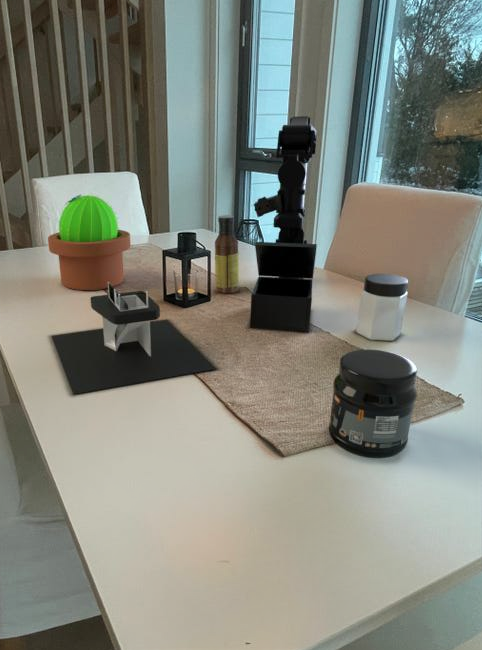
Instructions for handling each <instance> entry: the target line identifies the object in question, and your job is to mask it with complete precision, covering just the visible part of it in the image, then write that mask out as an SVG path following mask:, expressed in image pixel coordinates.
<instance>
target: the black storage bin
mask: <svg viewBox="0 0 482 650" xmlns="http://www.w3.org/2000/svg"><path fill="white" fill-rule="evenodd" d="M313 282H314V278H313V279H309V278H303V279H299V278H281V277H272V276H259V275H258V277H257V280H256V281H255V284H254V287H253V290H252V291H251V295H250V297H251V298H250V314H249V315H250V317H249V328H250V329H255V330H256V329H257V330H269V331H270V330H271V331H282V332H293V333H294V332H295V333H308V334H309V333H310V324H311V323H310V322H311V314H312V304H313V303H312V302H313V285H314V283H313Z"/></svg>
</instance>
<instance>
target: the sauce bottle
mask: <svg viewBox="0 0 482 650" xmlns="http://www.w3.org/2000/svg"><path fill="white" fill-rule="evenodd" d="M217 222H218V235H217V237H216V239H215V241H214V271H215V273H214V275H215V289H216V291H217V292H218V293H220V294H235V293H236V292H238V291H239V285H240V274H239V273H240V267H239V265H240V264H239V258H240V256H239V255H240V251H239V241H238V239H237V237H236V235H235V231H234V223H235V216H234V215H230V214H225V215H223V214H222V215H218V218H217Z"/></svg>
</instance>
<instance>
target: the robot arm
mask: <svg viewBox="0 0 482 650" xmlns="http://www.w3.org/2000/svg"><path fill="white" fill-rule="evenodd" d="M317 139H318V136H317V129H316V128H315V127H314V126H313V124H311V116H310V117H309V115H306V116H304V115H303V116H300V115H299V116H292V117H290V119H289V124H283V125H282V126H281V129H280V130H278V135H277V145H276V155H275V158H276V159H282V162H281V164H280V165H281V166H280V167H279V169H278V172H277V179H278V183H279V189H278V190H277V194H275V195H271V196H269V197H266V196H262V197H259V198H258V199H257V201H255V202H254V203H253V207H254V211H255V213H256V216H257V218H260V217H263V216H264V215H267V214H270V213H272V212H275V213H276V215H275V216H274V217H273V225H272V226H273V228H276V229H277V228H278V229H280V230H279V231H278V236H277V238H276V239H275V241H274V243H299V244H308V240H307V239H305V238H306V234H305V231H304V229H303V226H304V218H305V217H306V207H305V196H306V184H307V172H308V166H309V164H310V163H311V162H312V159H313V155H316V150H317V149H316V148H317ZM281 278H291V277H281ZM299 279H304V278H299Z"/></svg>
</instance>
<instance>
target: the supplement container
mask: <svg viewBox="0 0 482 650" xmlns="http://www.w3.org/2000/svg"><path fill="white" fill-rule="evenodd" d="M338 366H339V367H338V374H337V375H336V376H335V377H334V380H333V383H332V388H333V392H332V402H331V409H330V416H329V417H330V418H329V422H328V433H329V437H330V438H331V440H332V441H333V443H334V444H336V445H337V446H338V447H339V448H341V449H342V450H344V451H345V452H347V453H349V454H352V455H355V456H358V457H361V458H366V459H378V460H379V459H389V458H392V457H395V456H397V455H399V454H400V453H402V452H403V451H404V450H405V449H406V447H407V445H408V443H409V433H410V427H411V422H412V418H413V417H412V416H413V412H414V407H415V402H416V400H417V397H418V396H417V395H418V392H417V389H416V387H415V384H416V380H417V375H418V368H417V366H416V365H415V364H414V362H413V361H411V360H410V359H408V358H406V357H405V356H403V355H400V354H397V353H395V352H391V351H386V350H379V349H369V348H368V349H365V348H364V349H355V350H351V351H348V352H346V353H344V354H343V355H342V356H341V357H340V359H339V365H338Z"/></svg>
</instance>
